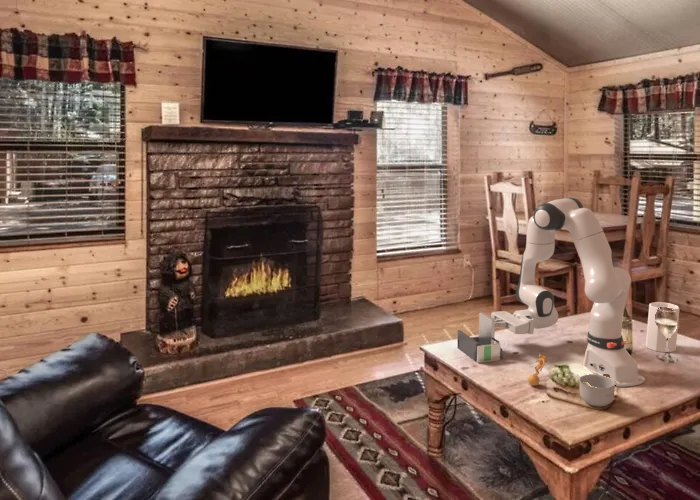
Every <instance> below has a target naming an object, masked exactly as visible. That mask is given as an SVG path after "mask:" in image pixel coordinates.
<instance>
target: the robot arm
mask: <svg viewBox="0 0 700 500" xmlns="http://www.w3.org/2000/svg"><path fill="white" fill-rule="evenodd" d="M562 228H563V229H565V230H567V231H568V232H569V235H570V236H571V239H572V242H573V244H574V247H575V249H576V252H577V254H578V256H579V259H580V263H581V266H582V272H583V273H582V274H583V277H584V294H585V296H586V297H587V298H588V300H590V301H591V302H593V304H592V307H591V310H590V313H589V325H588V326H589V327H588V329H589V330H588V331H587V336H586V340H587V346H586V349H585V353H584V357H583V362H582V365H584V366H586V367H587V368H588V369H589V370H591V371H592V372H593V373H598V375H603V374H609V375H610V377H611V378H612V379H614V380H615V381H616V383H617V384H616V386H615V387H619V388H620V387H621V388H622V387H633V386H634V387H635V386H638V385H642V384H643V383H645V382H646V379H645V377H643V376H642V375H641V374H639V369H638V368H639V367H638V363H637V362H636V360H635V358H634V357H632V356H631V355H630V353H629V352H628V350H627V349H626V348H625V344H627V342H628V341H624V338H623V335H622V328H623V321H624V320H623V318H624V313H625V307H626V304H627V300H628V296H629V289H630V286H631V283H632V278H631V275H630V273H629V271H627V270H626V269H624V268H621V267H617V266H615V267H614V265H613V258H612V252H613V251H612V249H611V246H610V243H609V242H608V239H607V237H606V234H605V232H604V228H602V225H601V223H600V222H599V219H598V218H597V217H596V215H595V214H594V212H593V211H592V210H591V209H590V208H587V207H584V206H583V204H582V202H581V201H580V200H579V199H577V198H575V197H564V198H560V199H559V198H558V199H553V200H550V201H548V202H545V203H542V204H540V205H538V206H537V207H536V208H535V210H534V211H533V215H532V216H531V217H530V218H529V219H528V223H527V228H526V242H525V243H526V244H525V250H524V251H523V253H522V257H521V263H520V271H519V279H518V283H517V286H516V289H515V297H516V299H517V301H518V302H520V303H521V304H524V305H526V306H528V308H526V309H520V310H515V311H514V312H513V313H510V312H509V311H505V310H500V311H498V310H497V311H492V312H491V313H490V317H492V318H494V319H495V328H505V329H506V330H507V331H510V332H511V333H513V334H515V335H527V334H528V335H534V331H535V330H534V329H537V330H538V329H546V328H550V327H553V326H554V325H555V324H556V323H557V322H558V320H559V313H558V309H556V307H555V297H554V294H553V293H552V292H551V291H549V290H548V289H545V288H544V287H541V286H539V285H538V284H537V283H536V281H535V274H536V267H537V264H538V263H539V262H545V261H547V260H549V259H550V258H551V257H552V256H553V255H554V253H555V247H556V246H555V244H556V241H555V240H556V237H555V235H556V230H557V231H559V230H562Z"/></svg>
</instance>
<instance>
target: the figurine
mask: <svg viewBox="0 0 700 500" xmlns="http://www.w3.org/2000/svg"><path fill="white" fill-rule="evenodd" d="M546 362H547V356H545V355H542V354H541V353H539V354H538V358H537V360H535V363H537V364H536V365H535V366H534V370H535V373H533V374H531V375H529V376H528V377H527V382H528V383H529V385H530V386H532V387H536V386H538V385H539V384H540V381H541V380H540V377H539V374H540V372H542V371H543V368H544V366H546V365H545V364H546Z"/></svg>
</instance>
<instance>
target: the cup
mask: <svg viewBox="0 0 700 500" xmlns="http://www.w3.org/2000/svg"><path fill="white" fill-rule="evenodd" d="M660 307H667V308H673V309H674V311H676V315H677V329H676V332H675V333H674V334H673V335H672V336H671V338H669V340H668V349H669V351H668V353H672V352H673V353H674V352H676V348H677V340H678V338H677V337H678V328H679V318H680V307H679V305H676V304H673V303H670V302H661V301H656V302H655V301H654V302H651V303H650V302H649V304H648V316H647V328H646V339H645V345H646V348H647V349H650V350H652V351H654V352H660V353H666V350H665V348H666V339H665V336H664V335H663V334H662V333H661V332H660V331H659V330H658V326H657V325H656V323H655V314H656V312H657V310H656V309H658V308H659V309H660ZM673 309H672V310H673Z"/></svg>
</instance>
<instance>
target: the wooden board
mask: <svg viewBox="0 0 700 500" xmlns="http://www.w3.org/2000/svg"><path fill="white" fill-rule="evenodd" d="M495 328H496V327H495V319H494V318H492V317H491V315H489V314H487V313H485V312H483V311H481V312H479V313H478V336H479V344H480V345H487V344H495V342H496V343H500V341H499V340H497V339H496V338H495V332H496V330H495Z"/></svg>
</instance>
